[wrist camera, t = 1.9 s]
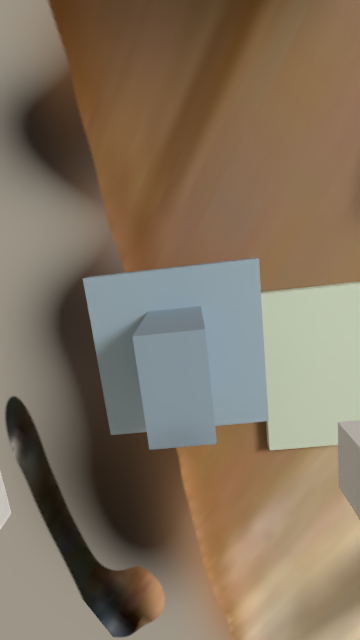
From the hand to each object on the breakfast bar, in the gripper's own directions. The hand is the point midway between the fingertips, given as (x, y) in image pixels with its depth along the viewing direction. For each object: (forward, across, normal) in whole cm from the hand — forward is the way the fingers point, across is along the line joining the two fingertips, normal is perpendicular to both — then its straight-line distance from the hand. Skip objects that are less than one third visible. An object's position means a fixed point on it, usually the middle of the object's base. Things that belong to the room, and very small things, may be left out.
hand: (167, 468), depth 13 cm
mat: (+20, +15, -5) cm, 25 cm away
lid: (+15, 0, 0) cm, 15 cm away
